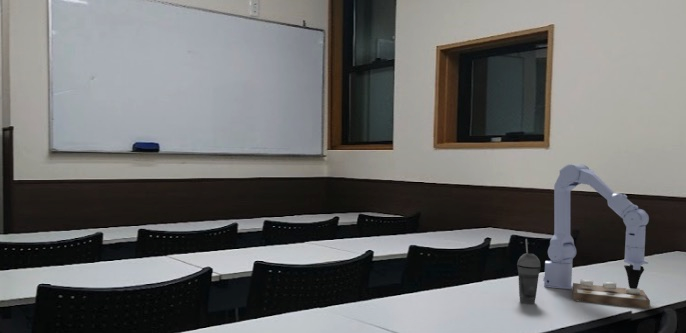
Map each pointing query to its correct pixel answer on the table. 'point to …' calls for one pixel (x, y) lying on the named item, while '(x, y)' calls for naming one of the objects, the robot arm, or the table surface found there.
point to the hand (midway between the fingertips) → (633, 288)
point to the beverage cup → (528, 276)
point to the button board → (610, 296)
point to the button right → (632, 290)
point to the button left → (586, 283)
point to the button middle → (609, 285)
